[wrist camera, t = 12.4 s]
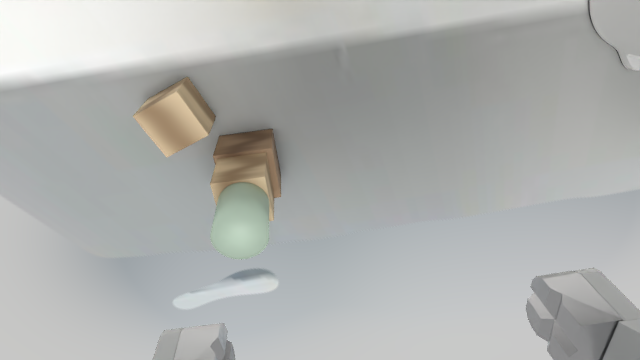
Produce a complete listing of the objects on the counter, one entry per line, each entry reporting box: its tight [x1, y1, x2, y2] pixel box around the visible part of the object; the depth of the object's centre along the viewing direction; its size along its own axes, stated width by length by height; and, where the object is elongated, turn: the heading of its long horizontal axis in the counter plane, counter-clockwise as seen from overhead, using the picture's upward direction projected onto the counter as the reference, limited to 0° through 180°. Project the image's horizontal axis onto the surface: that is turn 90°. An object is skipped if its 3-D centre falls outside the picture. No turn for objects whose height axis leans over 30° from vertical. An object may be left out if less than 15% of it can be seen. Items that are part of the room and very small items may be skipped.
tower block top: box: [210, 152, 274, 221], centre depth 39 cm, size 5×5×5 cm
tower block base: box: [213, 129, 281, 198], centre depth 43 cm, size 6×6×5 cm
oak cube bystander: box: [133, 77, 216, 157], centre depth 40 cm, size 5×5×5 cm
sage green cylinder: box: [210, 182, 269, 259], centre depth 35 cm, size 5×5×5 cm
